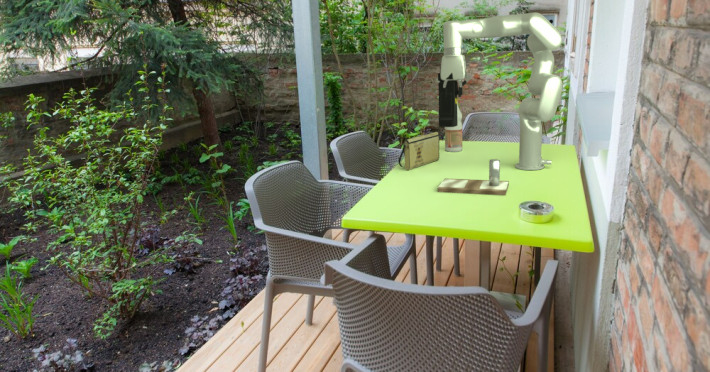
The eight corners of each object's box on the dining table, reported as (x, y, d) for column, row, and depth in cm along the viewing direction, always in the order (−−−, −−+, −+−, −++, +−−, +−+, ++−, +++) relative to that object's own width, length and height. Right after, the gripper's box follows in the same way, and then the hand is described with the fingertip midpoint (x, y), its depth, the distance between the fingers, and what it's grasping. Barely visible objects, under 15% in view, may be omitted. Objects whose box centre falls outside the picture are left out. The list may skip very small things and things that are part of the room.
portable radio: (460, 125, 213) (460, 66, 208) (455, 127, 208) (455, 66, 203) (443, 125, 217) (442, 67, 212) (438, 127, 212) (437, 67, 207)
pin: (499, 183, 198) (500, 159, 195) (498, 186, 194) (499, 161, 192) (489, 183, 199) (489, 159, 197) (488, 186, 196) (488, 161, 193)
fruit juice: (441, 151, 276) (441, 100, 269) (451, 148, 282) (451, 98, 275) (455, 152, 269) (455, 100, 262) (465, 149, 276) (466, 99, 268)
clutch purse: (430, 159, 258) (429, 130, 254) (441, 160, 254) (441, 131, 250) (394, 170, 237) (393, 139, 233) (406, 172, 233) (405, 140, 229)
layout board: (508, 184, 203) (508, 180, 202) (505, 195, 188) (505, 191, 188) (445, 181, 212) (445, 177, 211) (437, 191, 198) (437, 187, 197)
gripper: (475, 51, 204) (475, 95, 209) (434, 53, 211) (435, 96, 215) (472, 51, 198) (472, 97, 202) (430, 53, 204) (431, 98, 209)
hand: (453, 96), depth 209 cm, fingers open, 4 cm apart
